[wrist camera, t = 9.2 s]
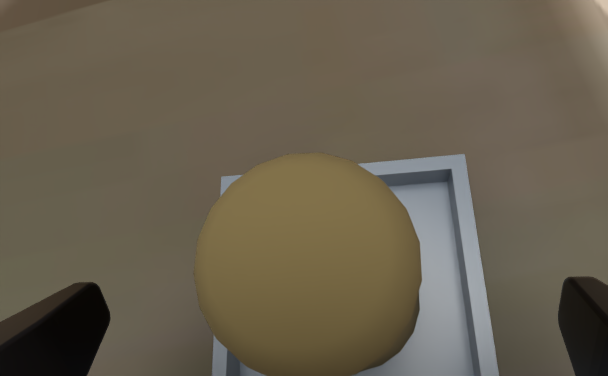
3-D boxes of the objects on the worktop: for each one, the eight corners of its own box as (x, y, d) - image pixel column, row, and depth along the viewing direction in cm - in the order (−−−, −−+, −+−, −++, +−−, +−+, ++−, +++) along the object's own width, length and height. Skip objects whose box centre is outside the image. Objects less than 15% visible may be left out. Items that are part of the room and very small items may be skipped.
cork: (274, 240, 20) (149, 140, 10) (404, 218, 19) (413, 85, 9) (288, 380, 18) (147, 436, 8) (434, 363, 17) (490, 401, 7)
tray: (496, 434, 16) (510, 448, 14) (229, 429, 18) (208, 441, 16) (457, 172, 20) (464, 153, 18) (237, 191, 22) (221, 176, 20)
